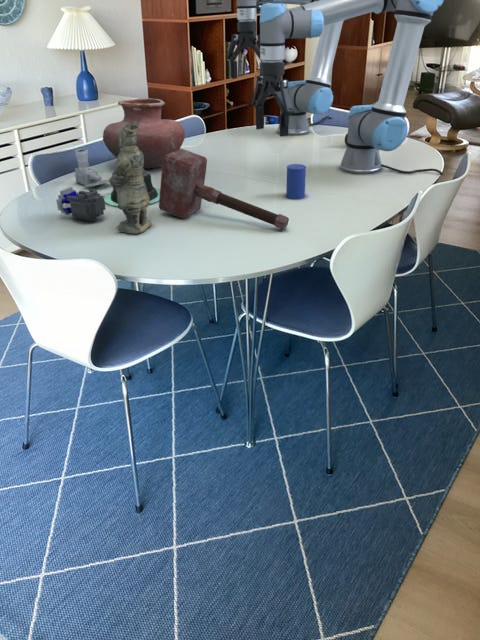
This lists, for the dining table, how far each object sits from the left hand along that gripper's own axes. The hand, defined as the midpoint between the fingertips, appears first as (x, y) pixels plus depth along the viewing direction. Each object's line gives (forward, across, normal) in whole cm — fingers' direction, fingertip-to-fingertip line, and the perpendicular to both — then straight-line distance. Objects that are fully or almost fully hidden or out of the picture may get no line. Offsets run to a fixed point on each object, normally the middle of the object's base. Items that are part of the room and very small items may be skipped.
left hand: (248, 79), depth 228 cm
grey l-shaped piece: (+27, -19, -74) cm, 81 cm away
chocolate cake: (+27, +4, -76) cm, 81 cm away
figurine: (+29, +36, +35) cm, 58 cm away
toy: (+27, +6, -100) cm, 103 cm away
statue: (+27, +25, -98) cm, 104 cm away
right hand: (+8, +40, -45) cm, 61 cm away
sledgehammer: (+27, +44, -78) cm, 93 cm away
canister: (+28, +50, -47) cm, 74 cm away
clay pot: (+27, -18, -46) cm, 56 cm away
